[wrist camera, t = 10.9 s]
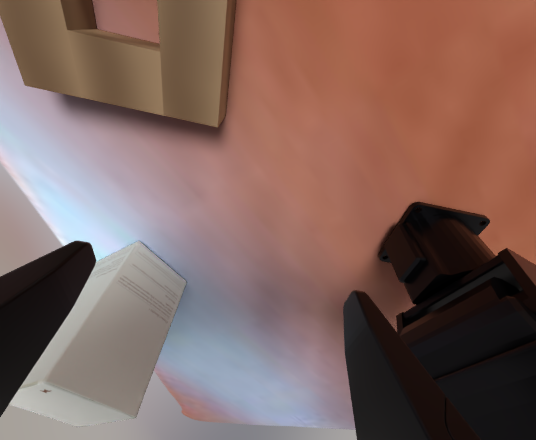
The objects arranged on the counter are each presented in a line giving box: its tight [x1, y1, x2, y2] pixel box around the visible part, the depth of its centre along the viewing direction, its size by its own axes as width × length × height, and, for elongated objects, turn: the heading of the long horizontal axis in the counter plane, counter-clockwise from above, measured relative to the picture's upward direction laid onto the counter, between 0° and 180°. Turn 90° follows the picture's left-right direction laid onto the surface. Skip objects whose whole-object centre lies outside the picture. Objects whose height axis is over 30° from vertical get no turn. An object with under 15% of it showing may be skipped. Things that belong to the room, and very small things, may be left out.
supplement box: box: [9, 241, 187, 427], centre depth 23 cm, size 7×7×13 cm
